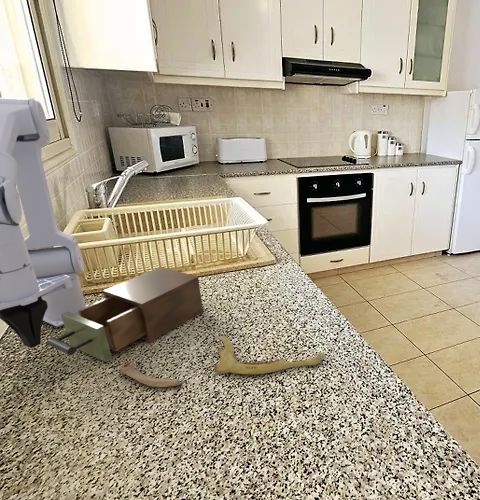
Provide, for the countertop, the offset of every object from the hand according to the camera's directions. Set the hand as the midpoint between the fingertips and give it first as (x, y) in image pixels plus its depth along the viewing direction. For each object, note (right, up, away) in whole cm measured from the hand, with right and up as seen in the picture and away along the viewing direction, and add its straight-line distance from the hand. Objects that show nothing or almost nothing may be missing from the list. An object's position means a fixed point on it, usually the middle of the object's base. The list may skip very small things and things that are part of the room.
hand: (32, 344), depth 60 cm
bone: (+17, -7, +4) cm, 19 cm away
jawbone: (+34, -5, +9) cm, 36 cm away
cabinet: (+9, 0, +21) cm, 23 cm away
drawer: (+5, -2, +12) cm, 13 cm away
